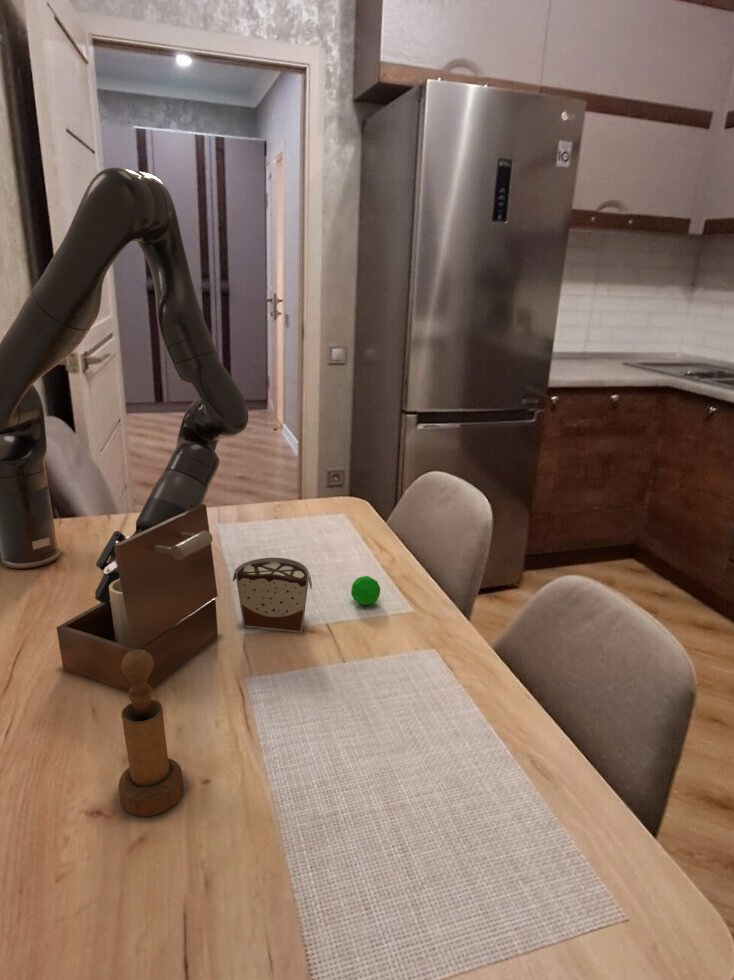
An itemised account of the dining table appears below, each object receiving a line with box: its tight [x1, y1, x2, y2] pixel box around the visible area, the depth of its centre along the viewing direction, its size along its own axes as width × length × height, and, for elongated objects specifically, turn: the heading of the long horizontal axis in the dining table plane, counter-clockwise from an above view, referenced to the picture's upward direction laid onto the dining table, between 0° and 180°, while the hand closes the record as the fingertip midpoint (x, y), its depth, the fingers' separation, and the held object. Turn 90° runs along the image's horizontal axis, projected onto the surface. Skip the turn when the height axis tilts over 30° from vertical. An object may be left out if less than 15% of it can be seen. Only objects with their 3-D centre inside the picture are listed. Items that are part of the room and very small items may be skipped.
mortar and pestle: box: [118, 650, 185, 817], centre depth 69 cm, size 7×6×18 cm
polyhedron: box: [350, 575, 381, 606], centre depth 114 cm, size 5×5×5 cm
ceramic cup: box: [109, 578, 133, 648], centre depth 96 cm, size 5×5×10 cm
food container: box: [232, 557, 313, 634], centre depth 106 cm, size 12×6×10 cm, turn 84°
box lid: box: [114, 503, 218, 650], centre depth 89 cm, size 14×17×6 cm
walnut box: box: [56, 598, 219, 693], centre depth 96 cm, size 14×17×7 cm
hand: (124, 608), depth 94 cm, fingers open, 8 cm apart
